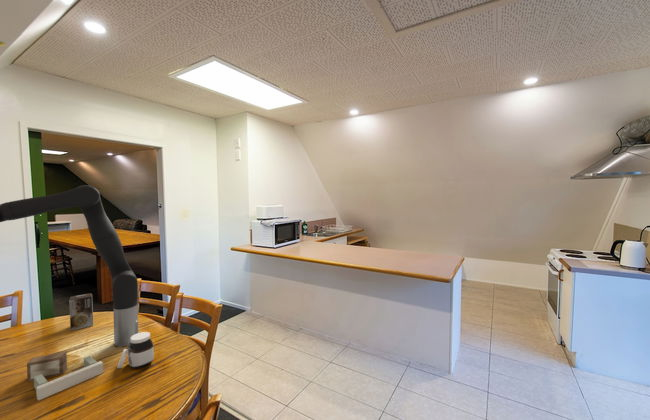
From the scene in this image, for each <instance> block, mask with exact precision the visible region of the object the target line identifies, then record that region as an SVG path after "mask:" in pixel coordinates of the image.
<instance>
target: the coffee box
mask: <svg viewBox="0 0 650 420" xmlns="http://www.w3.org/2000/svg"><path fill="white" fill-rule="evenodd" d="M68 303H69V305H68V306H69V322H70V323H69V324H70V325H69V327H70V331H75V330H80V329H85V328H89V327H93V326H94V311H93V310H94V309H93V307H94V306H93V293H92V292H91V293H84V294H79V295H73V296H70V297H69V300H68Z"/></svg>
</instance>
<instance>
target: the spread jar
mask: <svg viewBox="0 0 650 420" xmlns="http://www.w3.org/2000/svg"><path fill="white" fill-rule="evenodd" d="M154 351H155V350H154V343H153V340H152V339H151V333H150V332H148V331H143V332H138V333H137V334H135V335H133V336H132V337H131V338H130V343H129V345H127V348H124V349H123V350H122V352H121V355H120V358H119V361H118V364H117V367H116V368H117V369H122V367H123V366H124V363H125V359H126V358H127V362H128V365H129V367H130V368H132V369H134V370H135V369H136V368H137V369H142V368H144V366H145V367H147V366H148V365H150V364H151V363H152V362H153V361H154V359H155V358H154V356H155V355H154V354H155V353H154ZM146 365H147V366H146ZM141 367H142V368H141Z"/></svg>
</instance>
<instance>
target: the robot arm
mask: <svg viewBox="0 0 650 420" xmlns="http://www.w3.org/2000/svg"><path fill="white" fill-rule="evenodd" d="M77 207H79V209H80V210H81V212H82V214H83V216H84V218H85V221H86V224H87V228H88V233H89V235H90V238H91V241H92V243H93V246H94V247H95V250H96V251H97V253H98V254H99V256H100V257H101V259H102V260H103V261H104V263H105V264H106V266H107V268H108V270H109V271H108V272H109V274H110V276H111V279H112V301H113V302H112V303H113V304H112V305H113V306H112V307H113V308H112V309H113V342H114V343H113V345H114V346H115V347H128V345H129V343H130V338H131V337H132V336H133V335H135V334H137V333H139V316H138V314H139V313H138V312H139V311H138V310H139V308H138V306H139V305H138V301H139V300H138V299H139V298H138V297H139V295H138V294H139V291H138V290H139V286H138V285H139V284H138V281H139V280H138V278H137V276H136V274H135V273H134V271H133V270H132V268H131V267H130V264H129V262H128V261H127V259H126V256H125V252H124V248H123V244H122V242H121V239H120V237H119V235H118V233H117V230H116V229H115V226H114V225H113V224H112V221H111V220H110V219H109V217H108V216H107V214H106V211H105V209H104V206H103V203H102V199H101V194H100V191H99V190H98V189H97V188H95V186H92V185H87V184H84V185H79V186H77V187H75V188H72V189H69V190H66V191H62V192H59V193H55V194H50V195H42V196H37V197H36V196H35V197H30V198H23V199H18V200H13V201H11V200H10V201H7V202H3V203H0V223H2V222H6V221H15V220H19V219H25V218H30V217H33V216H34V217H35V216H38V215H41V214H46V213H49V212H52V211H53V212H54V211H57V210H62V209H68V208H77Z"/></svg>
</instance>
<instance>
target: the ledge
mask: <svg viewBox="0 0 650 420" xmlns="http://www.w3.org/2000/svg"><path fill="white" fill-rule="evenodd" d="M103 373H104V362H103V361H101V360H100V361H97V360H95V358H93V357H92V356H91V355H87V356H86V357H83V367H81V368H79V369H77V370H74V371H72V372H69V373H67V374H65V375H63V376H60V377H58V378H55V379H52V380H50V381H48V380H47V379H46V378H45V377H44V376H43V375H42V374H40V375H38V376H35V377H34V381H33V388H34V390H35V391H36V400H37V401H38V402H39V401H42V400H43V399H46V398H48V397H51V396H52V395H54V394H55V395H56V394H57V393H59V392H62V391H64V390H67V389H68V388H69V389H70V388H71V387H73V386H76V385H78V384H81V383H83V382H85V381H87V380H90V379H92V378H94V377H97V376H98V375H101V374H103Z"/></svg>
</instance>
